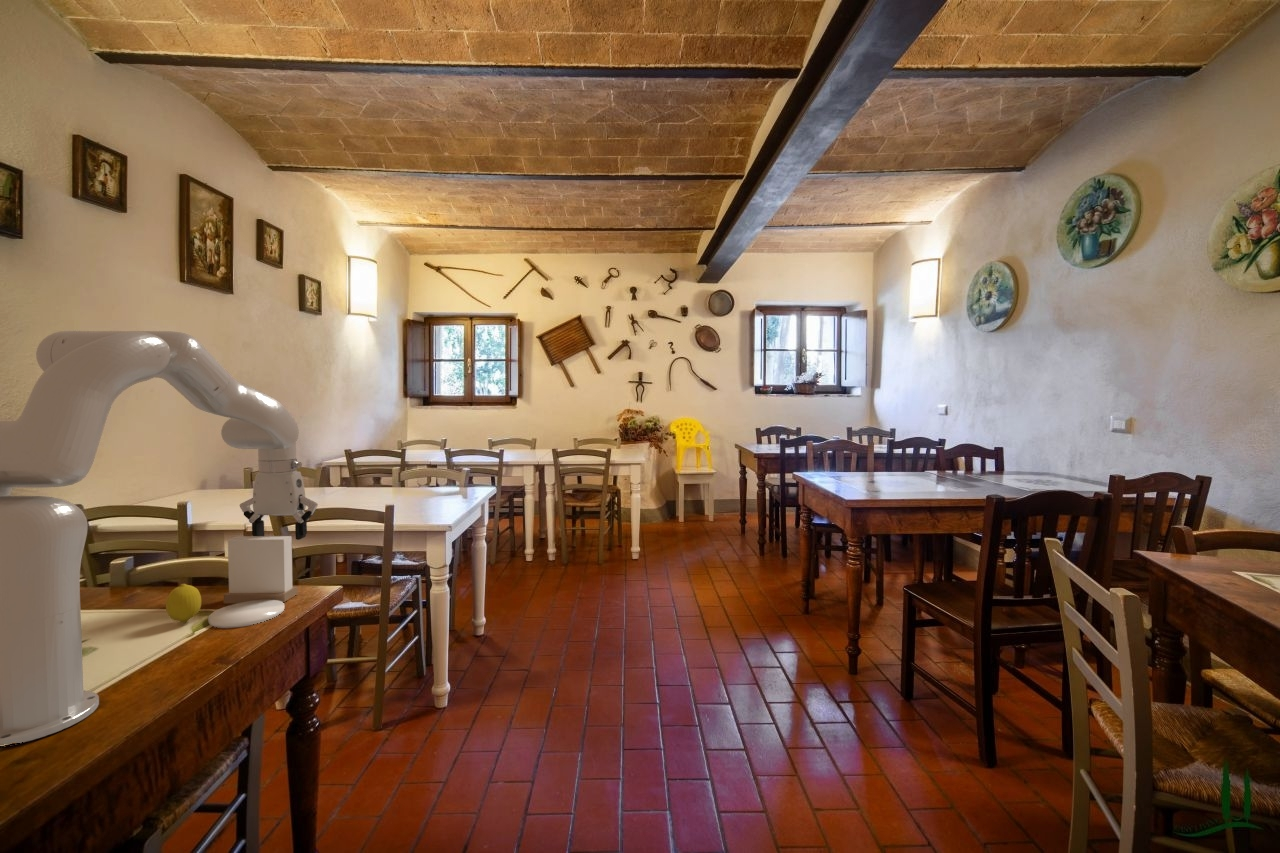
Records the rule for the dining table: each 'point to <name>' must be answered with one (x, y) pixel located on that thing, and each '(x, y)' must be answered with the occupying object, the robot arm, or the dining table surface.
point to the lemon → (183, 603)
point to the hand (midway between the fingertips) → (279, 538)
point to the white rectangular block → (260, 569)
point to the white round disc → (246, 613)
